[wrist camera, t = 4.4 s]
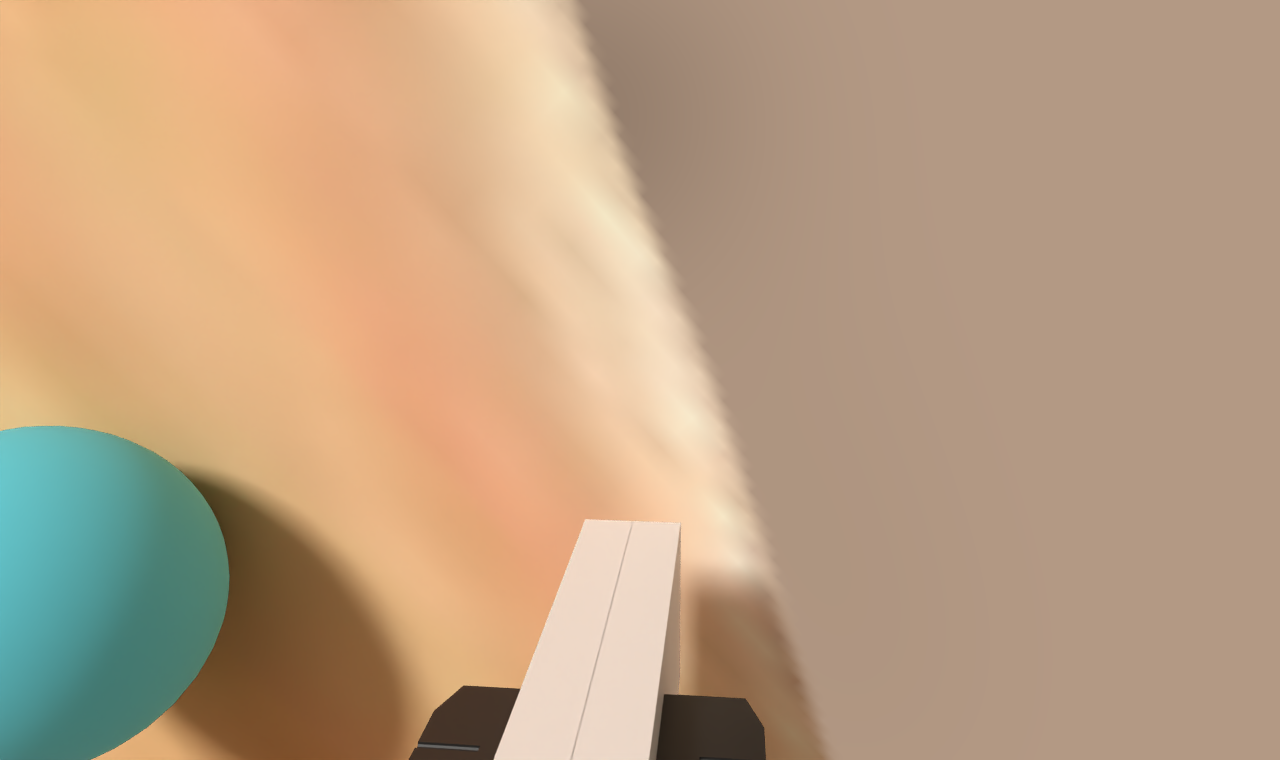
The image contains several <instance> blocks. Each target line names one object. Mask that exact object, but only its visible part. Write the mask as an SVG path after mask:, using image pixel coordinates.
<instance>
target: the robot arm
mask: <svg viewBox="0 0 1280 760" xmlns="http://www.w3.org/2000/svg"><path fill="white" fill-rule="evenodd" d="M680 548H681V523H672V522H644V521H616V520H589V519H585V522H584V524H583V527H582V530H581V532H580V535H579V537H578V540H577V543H576V545H575V548H574V550H573V553H572V556H571V558H570V561H569V564H568V566H567V569H566V571H565V574H564V577H563V579H562V582H561V584H560V587H559V590H558V592H557V595H556V598H555V600H554V603H553V605H552V608H551V611H550V613H549V616H548V618H547V621H546V624H545V626H544V629H543V632H542V634H541V637H540V639H539V642H538V645H537V647H536V650H535V652H534V655H533V658H532V660H531V663H530V666H529V668H528V671H527V673H526V676H525V679H524V681H523V684H522V686H521V689H514V688H497V687H479V686H463V687H461V688H460V689H459V690H458V691H457V692H456V693H454V694H453V695H452V696H451V697H450V698H449V699H447V700H446V701H445V702H444V703H443V704H442V705H440V706H439V707H438V708H437V709H436V710H435V711H434V712H433V714H432V716H431V718H430V720H429V722H428V724H427V726H426V728H425V729H424V731H423V733H422V735H421V737H420V739H419V741H418V747H417V748H415V749H414V751H413V753H412V755H411V757H410V758H409V760H766V755H765V736H764V727H763V725H762V724H761V722H760V721H759V719H758V717H757V716H756V714H755V713H754V711H753V710H752V708H751V707H750V705H749V704H748V702H747V700H746V699H743V698H725V697H708V696H690V695H678V690H679V680H680Z"/></svg>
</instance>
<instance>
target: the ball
mask: <svg viewBox="0 0 1280 760" xmlns="http://www.w3.org/2000/svg"><path fill="white" fill-rule="evenodd" d="M229 578H230V575H229V563H228V556H227V550H226V546H225V541H224V537H223V534H222V531H221V529H220V526H219V523H218V521H217V519H216V517H215V515H214V513H213V511H212V509H211V507H210V506H209V504H208V503H207V501H206V500H205V498H204V497H203V495H202V494H201V493H200V492H199V490H198V489H197V488H196V487H195V486H194V484H193V483H192V482H191V481H190V480H189V479H188V478H187V477H186V476H185V475H184V474H183V473H182V472H181V471H180V470H178V469H177V468H176V467H175V466H173V465H172V464H171V463H169V462H168V461H167V460H165V459H164V458H162V457H161V456H159V455H157V454H156V453H154V452H153V451H150V450H148V449H146V448H144V447H142V446H140V445H138V444H136V443H134V442H131V441H129V440H126V439H124V438H121V437H118V436H115V435H112V434H108V433H103V432H99V431H94V430H89V429H83V428H76V427H65V426H34V427H21V428H15V429H8V430H3V431H0V760H91V759H93V758H96V757H98V756H100V755H102V754H104V753H106V752H108V751H110V750H112V749H114V748H116V747H118V746H119V745H121V744H123V743H124V742H126V741H127V740H129V739H131V738H132V737H134V736H135V735H137V734H138V733H140V732H141V731H143V730H144V729H146V728H147V727H148V726H149V725H150V724H152V723H153V722H154V721H155V720H156V719H157V718H159V717H160V716H161V715H162V714H163V713H164V712H165V711H166V710H168V709H169V708H170V707H171V706H172V705H173V704H174V703H175V702H176V701H177V700H178V698H179V697H180V696H181V695H182V694H183V692H184V691H185V690H186V689H187V688H188V686H189V685H190V684H191V683H192V682H193V680H194V679H195V678H196V677H197V675H198V673H199V672H200V670H201V668H202V667H203V665H204V663H205V661H206V660H207V658H208V656H209V655H210V653H211V651H212V649H213V647H214V645H215V642H216V639H217V637H218V634H219V632H220V629H221V626H222V623H223V621H224V617H225V612H226V607H227V601H228V594H229Z"/></svg>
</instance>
